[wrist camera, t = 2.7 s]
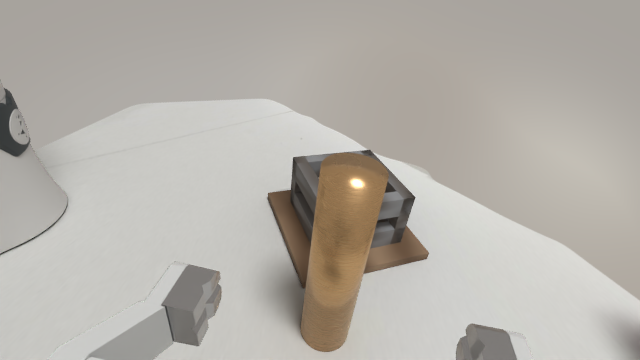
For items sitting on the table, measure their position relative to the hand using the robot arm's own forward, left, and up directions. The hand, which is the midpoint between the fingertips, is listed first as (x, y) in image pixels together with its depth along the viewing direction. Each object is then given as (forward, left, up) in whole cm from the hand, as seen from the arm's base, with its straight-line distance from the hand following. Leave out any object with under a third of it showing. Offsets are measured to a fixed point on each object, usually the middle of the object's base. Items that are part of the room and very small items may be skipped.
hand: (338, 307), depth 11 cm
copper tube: (+6, +11, -20) cm, 23 cm away
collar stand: (+13, +24, -20) cm, 34 cm away
